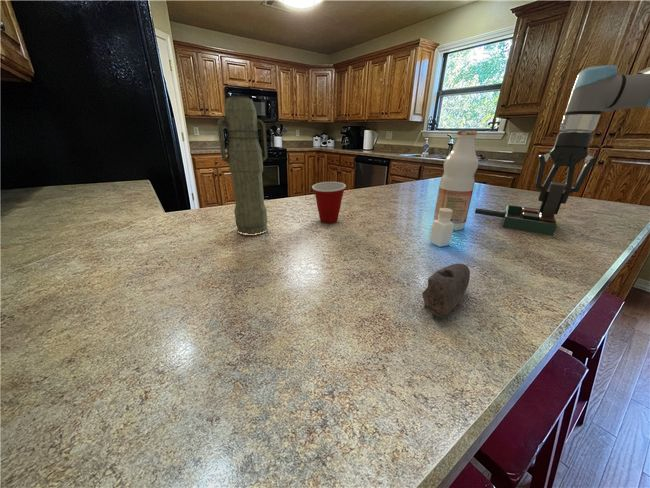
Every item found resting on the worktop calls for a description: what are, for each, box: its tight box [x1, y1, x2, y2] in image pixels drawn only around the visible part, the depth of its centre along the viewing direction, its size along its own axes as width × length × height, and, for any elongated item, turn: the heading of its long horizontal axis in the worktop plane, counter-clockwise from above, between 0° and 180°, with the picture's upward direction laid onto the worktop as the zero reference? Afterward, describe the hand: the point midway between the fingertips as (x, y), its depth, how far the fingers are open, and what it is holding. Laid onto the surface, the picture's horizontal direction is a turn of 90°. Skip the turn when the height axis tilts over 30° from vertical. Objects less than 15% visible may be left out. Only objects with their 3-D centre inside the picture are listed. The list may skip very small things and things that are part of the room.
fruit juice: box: [432, 130, 479, 231], centre depth 80 cm, size 9×9×28 cm
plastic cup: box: [311, 181, 347, 224], centre depth 86 cm, size 11×11×12 cm
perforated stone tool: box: [421, 263, 471, 319], centre depth 46 cm, size 15×5×7 cm, turn 135°
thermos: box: [216, 95, 269, 237], centre depth 72 cm, size 9×12×35 cm
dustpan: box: [474, 204, 558, 236], centre depth 90 cm, size 22×18×4 cm
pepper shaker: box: [429, 208, 454, 248], centre depth 70 cm, size 4×4×10 cm
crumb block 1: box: [519, 206, 538, 219], centre depth 90 cm, size 4×4×4 cm
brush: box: [537, 181, 565, 224], centre depth 84 cm, size 4×12×13 cm, turn 146°
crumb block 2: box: [521, 212, 539, 221], centre depth 85 cm, size 4×4×4 cm
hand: (547, 212), depth 85 cm, fingers closed on brush, 3 cm apart
